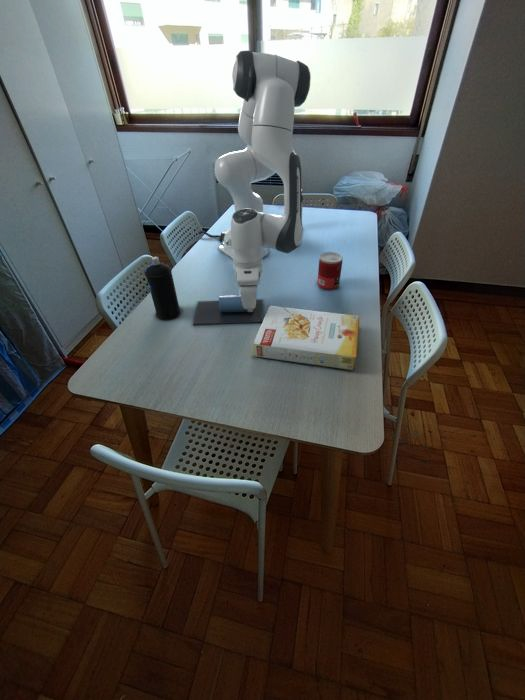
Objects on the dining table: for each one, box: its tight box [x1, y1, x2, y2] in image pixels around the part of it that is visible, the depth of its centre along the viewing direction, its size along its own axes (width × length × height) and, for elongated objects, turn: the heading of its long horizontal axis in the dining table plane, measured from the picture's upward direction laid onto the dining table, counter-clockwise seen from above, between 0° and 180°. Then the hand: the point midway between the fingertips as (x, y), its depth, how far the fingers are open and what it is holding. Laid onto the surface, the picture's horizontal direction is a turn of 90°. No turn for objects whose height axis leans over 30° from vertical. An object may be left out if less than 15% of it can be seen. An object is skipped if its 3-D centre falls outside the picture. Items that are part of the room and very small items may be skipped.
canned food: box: [317, 251, 344, 291], centre depth 124 cm, size 8×8×11 cm
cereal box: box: [253, 305, 361, 371], centre depth 102 cm, size 20×6×28 cm
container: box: [218, 294, 254, 313], centre depth 114 cm, size 6×6×11 cm
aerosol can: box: [143, 256, 182, 321], centre depth 111 cm, size 8×8×20 cm
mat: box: [192, 299, 263, 326], centre depth 116 cm, size 22×13×1 cm, turn 91°
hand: (250, 304), depth 114 cm, fingers closed on container, 6 cm apart
